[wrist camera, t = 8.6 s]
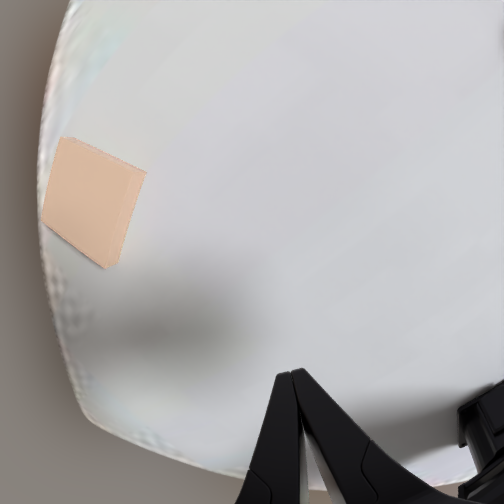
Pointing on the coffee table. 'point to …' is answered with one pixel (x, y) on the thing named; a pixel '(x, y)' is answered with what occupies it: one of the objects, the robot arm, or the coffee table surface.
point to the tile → (91, 199)
